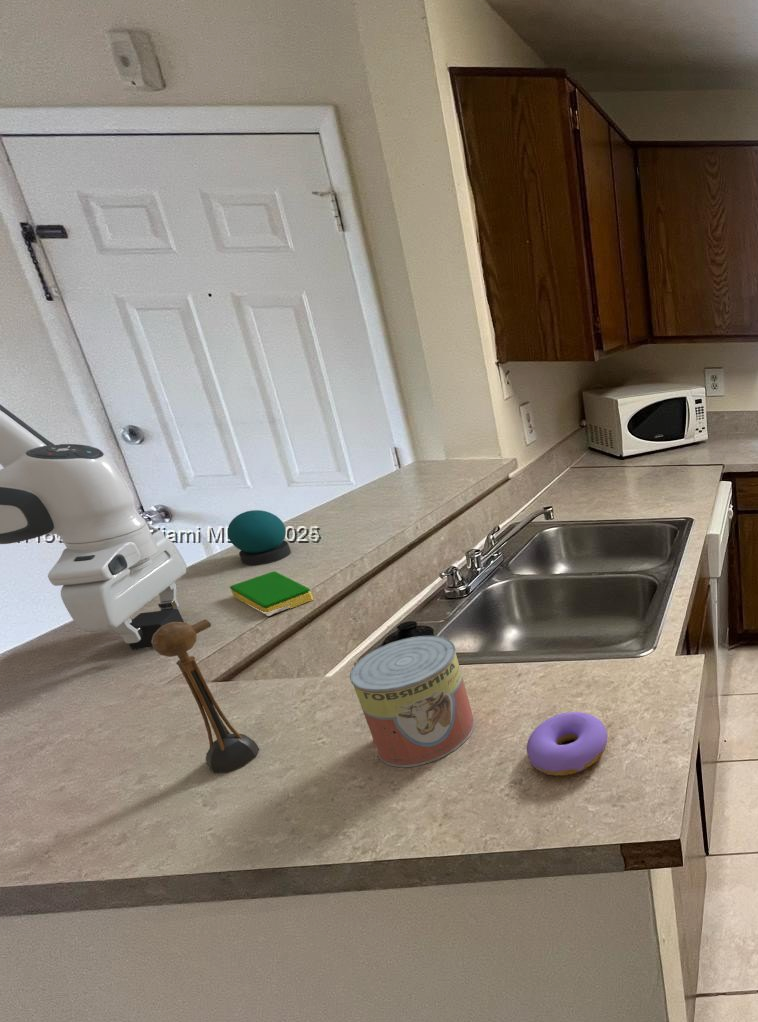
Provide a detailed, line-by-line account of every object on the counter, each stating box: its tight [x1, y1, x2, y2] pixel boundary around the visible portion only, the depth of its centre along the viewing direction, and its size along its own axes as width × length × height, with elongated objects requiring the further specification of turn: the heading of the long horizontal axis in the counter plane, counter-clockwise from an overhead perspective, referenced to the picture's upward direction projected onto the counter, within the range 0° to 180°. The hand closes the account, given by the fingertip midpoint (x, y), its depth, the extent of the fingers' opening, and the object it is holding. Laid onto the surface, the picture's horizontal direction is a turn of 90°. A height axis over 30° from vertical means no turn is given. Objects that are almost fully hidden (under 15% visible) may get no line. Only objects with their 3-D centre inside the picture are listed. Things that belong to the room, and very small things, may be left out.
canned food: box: [349, 635, 476, 768], centre depth 78 cm, size 11×11×12 cm
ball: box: [227, 509, 292, 566], centre depth 126 cm, size 9×9×10 cm
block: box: [128, 608, 185, 651], centre depth 100 cm, size 5×5×4 cm
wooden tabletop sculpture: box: [151, 619, 260, 774], centre depth 73 cm, size 6×5×20 cm
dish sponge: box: [229, 571, 314, 612], centre depth 112 cm, size 7×14×2 cm, turn 60°
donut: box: [526, 711, 608, 776], centre depth 77 cm, size 10×9×5 cm
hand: (154, 624), depth 100 cm, fingers open, 8 cm apart
